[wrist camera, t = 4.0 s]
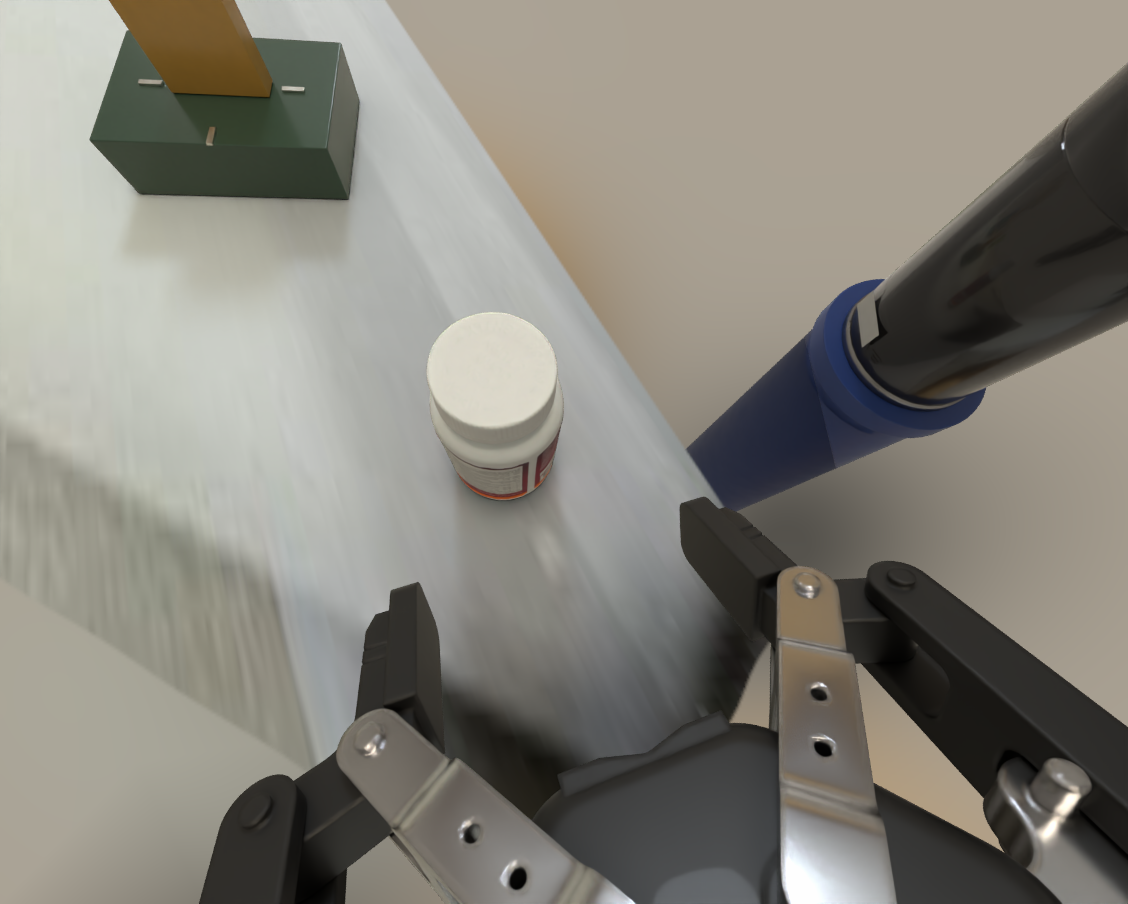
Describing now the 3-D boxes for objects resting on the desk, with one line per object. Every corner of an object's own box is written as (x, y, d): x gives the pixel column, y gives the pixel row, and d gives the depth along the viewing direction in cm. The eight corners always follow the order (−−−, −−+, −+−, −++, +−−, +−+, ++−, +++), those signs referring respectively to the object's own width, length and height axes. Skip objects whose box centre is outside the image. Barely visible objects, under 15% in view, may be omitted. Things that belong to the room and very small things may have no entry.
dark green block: (359, 99, 37) (340, 38, 33) (348, 200, 34) (325, 147, 30) (168, 89, 36) (124, 26, 32) (138, 195, 32) (85, 138, 29)
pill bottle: (524, 392, 30) (525, 277, 20) (571, 473, 29) (601, 395, 18) (436, 434, 29) (385, 335, 18) (481, 521, 28) (455, 468, 17)
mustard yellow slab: (273, 80, 31) (220, -30, 26) (269, 97, 31) (215, -11, 25) (176, 75, 31) (102, -38, 25) (171, 93, 30) (95, -19, 25)
